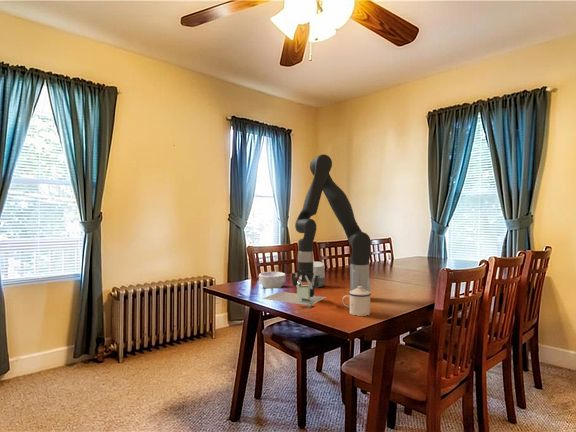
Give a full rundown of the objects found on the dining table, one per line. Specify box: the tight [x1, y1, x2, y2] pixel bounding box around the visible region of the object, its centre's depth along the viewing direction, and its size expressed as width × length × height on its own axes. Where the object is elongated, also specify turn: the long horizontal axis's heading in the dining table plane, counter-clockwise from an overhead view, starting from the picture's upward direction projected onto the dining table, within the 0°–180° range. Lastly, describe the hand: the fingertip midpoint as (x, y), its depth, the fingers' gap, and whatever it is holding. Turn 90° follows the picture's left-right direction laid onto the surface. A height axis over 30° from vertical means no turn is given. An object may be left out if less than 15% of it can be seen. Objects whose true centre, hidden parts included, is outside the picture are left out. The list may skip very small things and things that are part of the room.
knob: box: [296, 284, 315, 299], centre depth 173 cm, size 6×6×5 cm
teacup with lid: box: [341, 286, 372, 317], centre depth 155 cm, size 12×9×12 cm
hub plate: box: [261, 291, 328, 309], centre depth 176 cm, size 26×18×6 cm
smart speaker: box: [312, 261, 326, 289], centre depth 211 cm, size 10×9×14 cm
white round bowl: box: [258, 271, 286, 290], centre depth 208 cm, size 15×15×8 cm
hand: (305, 295), depth 173 cm, fingers closed on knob, 6 cm apart
